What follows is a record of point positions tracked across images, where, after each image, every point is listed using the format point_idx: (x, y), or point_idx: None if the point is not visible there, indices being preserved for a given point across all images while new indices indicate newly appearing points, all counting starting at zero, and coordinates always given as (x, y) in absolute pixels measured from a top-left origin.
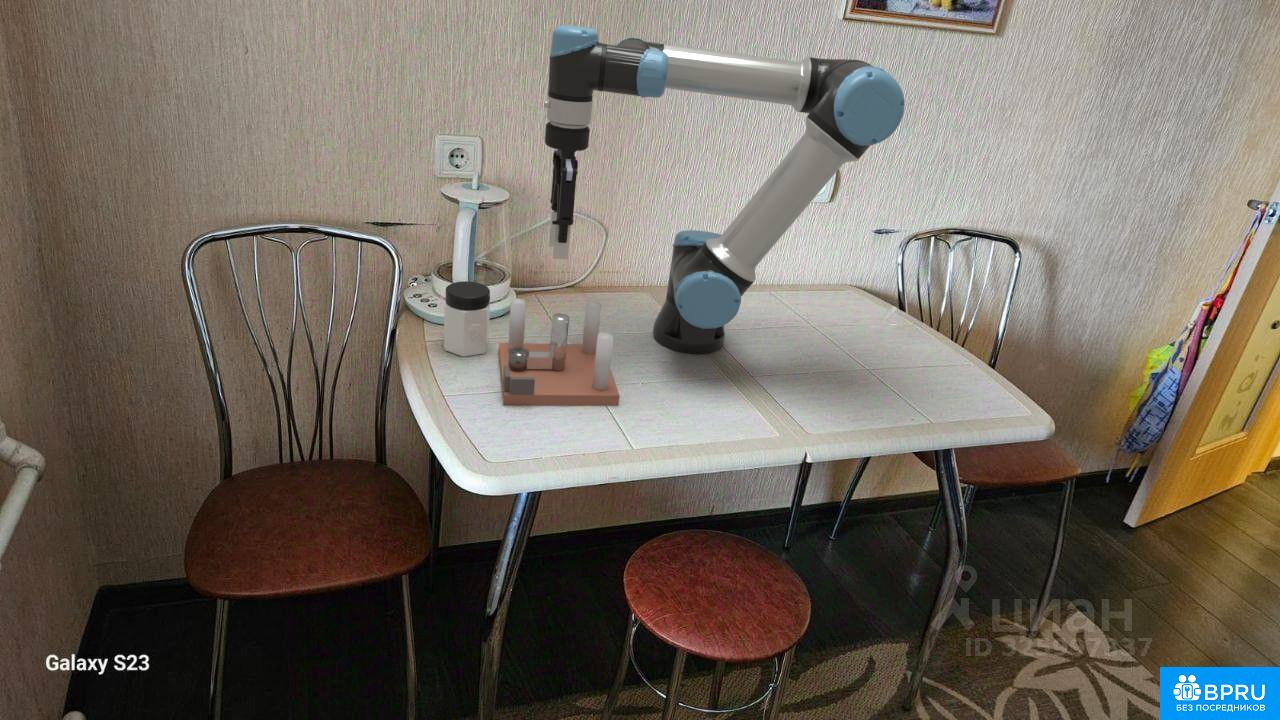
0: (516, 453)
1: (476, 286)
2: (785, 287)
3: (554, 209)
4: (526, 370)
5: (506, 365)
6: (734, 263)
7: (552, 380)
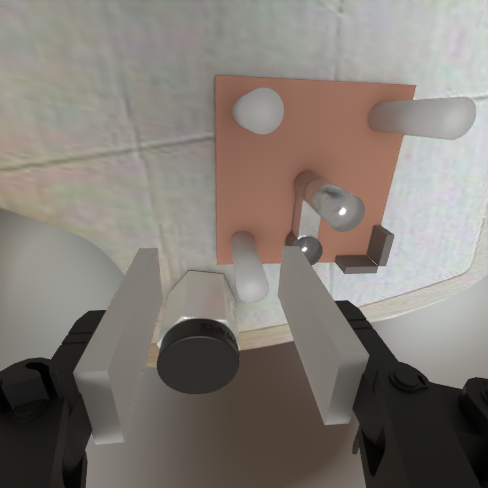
0: (465, 244)
1: (181, 356)
2: None
3: (84, 448)
4: None
5: None
6: None
7: None
